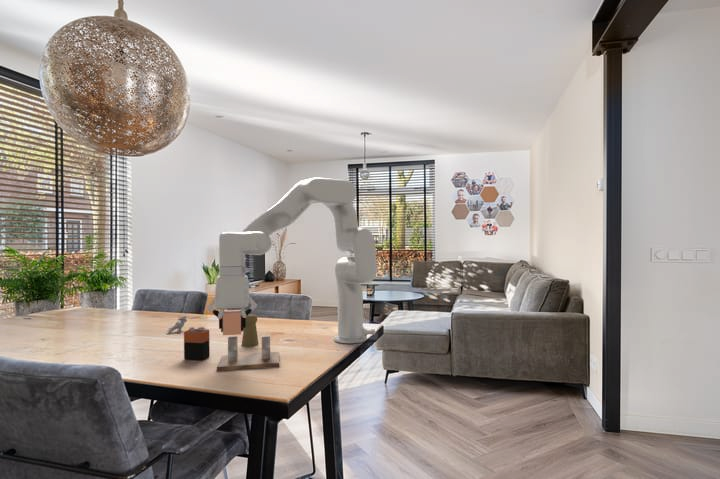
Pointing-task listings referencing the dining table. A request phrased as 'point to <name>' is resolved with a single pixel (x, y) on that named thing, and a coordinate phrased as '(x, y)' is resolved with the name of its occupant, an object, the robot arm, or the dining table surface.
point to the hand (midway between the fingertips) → (232, 330)
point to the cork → (250, 332)
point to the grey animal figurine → (178, 324)
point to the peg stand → (248, 357)
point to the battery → (196, 344)
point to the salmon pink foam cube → (232, 322)
